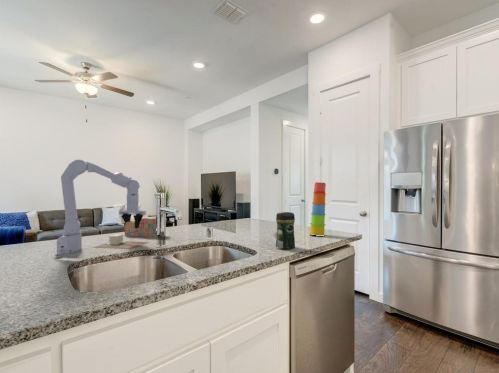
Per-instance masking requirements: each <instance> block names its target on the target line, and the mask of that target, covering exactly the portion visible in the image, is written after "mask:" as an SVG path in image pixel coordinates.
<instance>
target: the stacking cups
mask: <svg viewBox="0 0 499 373" xmlns="http://www.w3.org/2000/svg"><path fill="white" fill-rule="evenodd" d="M313 187H314V189H313V197H312V198H313V199H312V203H311V204H312V207H311V208H312V209H311V213H310V214H311V217H310V218H311V219H310V223H309V224H310V229H309V233H310V234H314V235H324V234H325V226H326V224H325V222H326V220H325V218H326V212H325V211H326V194H327V193H326V187H327V186H326V182H317V181H315V182H314V186H313Z"/></svg>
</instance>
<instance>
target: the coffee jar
mask: <svg viewBox="0 0 499 373" xmlns="http://www.w3.org/2000/svg"><path fill="white" fill-rule="evenodd" d="M275 217H276V218H275V221H276V230H277V231H276V240H275V247H276V248H277V247H278V248H281V249H280V250H284V249H286V250H290V249H289V248H291V249H294V248H295V246H296V240H295V239H296V238H295V229H294V228H295V220H296V219H295V218H296V217H295V214H294V212H289V211H285V212H284V211H282V212H278V213H276V216H275ZM293 247H294V248H293ZM278 248H277V249H278Z"/></svg>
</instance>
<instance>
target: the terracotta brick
mask: <svg viewBox="0 0 499 373" xmlns="http://www.w3.org/2000/svg"><path fill="white" fill-rule="evenodd" d="M137 229H139V228H137ZM126 230H136V229H135V220H130V221H129V222H126Z"/></svg>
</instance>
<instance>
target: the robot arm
mask: <svg viewBox="0 0 499 373" xmlns="http://www.w3.org/2000/svg"><path fill="white" fill-rule="evenodd" d="M86 172H87V173H95V174H98V175H100V176H103V177H105V178H108V179H110V180H111V183H113V184H115V185H116V186H119V187H122V188H124V189H125V188H126V209H125V210H118V215H120V216H121V218H122V220H123V222H124V226H125V225H126V222H129V221H131V218H132V216H133V221H135V229H137V228H139V224H140V221H141V219H142V217H144V216H146V215H147V211H146V210H139V199H140V198H139V189H140V187H141V185H140V183H139V182H138V180H135V179H133V178H132V177H128V176H126V175H125V174H124V173H123V172H115V173H113V172H111V171H109V170H107V169H105V168H103V167H101V166H99V165H97V164H94V163H92V162H88V161H85V160H83V159H74V160H73V161H71V162H70V163H68V165H67V167H66V168H65V170H64V171H63V172H62V174H61V176H60V181H61V189H62V197H63V207H64V214H65V215H64V217H65V218H64V220H65V222H64V225H63V230H64V232H63V233H62V235H61V236H59V237H58V238H57V240H56V253H55V254H54V255H56V256H60V255H64V254H70V253H73V252H78V251H82V247H83V246H82V242H83V241H82V235H83V233H82V231H81V227H82V226H81V224H82V223H81V221H80V220H79V217H78V211H77V203H76V202H77V200H76V193H75V192H76V191H75V185H74V180H75V179H76V178H77V177H78V176H80V175H82V174H84V173H86Z"/></svg>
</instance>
